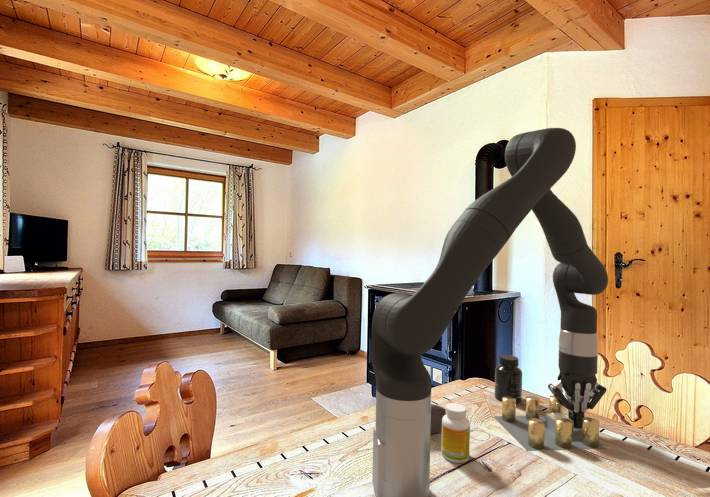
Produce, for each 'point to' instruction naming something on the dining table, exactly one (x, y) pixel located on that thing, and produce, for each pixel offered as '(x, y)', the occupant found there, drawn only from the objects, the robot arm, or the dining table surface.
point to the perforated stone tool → (436, 418)
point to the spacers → (562, 424)
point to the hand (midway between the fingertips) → (576, 426)
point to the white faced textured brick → (552, 421)
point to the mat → (521, 435)
